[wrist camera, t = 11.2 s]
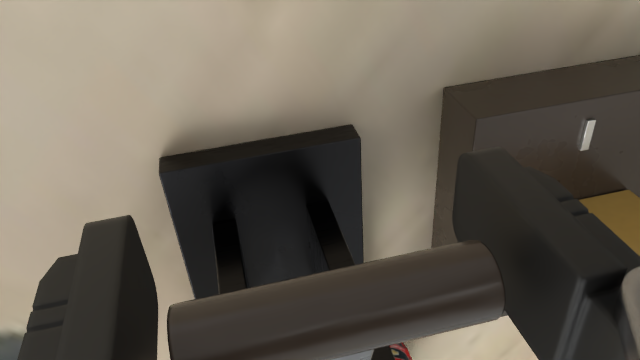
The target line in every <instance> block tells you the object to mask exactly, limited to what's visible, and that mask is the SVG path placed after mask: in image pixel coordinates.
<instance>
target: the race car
mask: <svg viewBox="0 0 640 360" xmlns="http://www.w3.org/2000/svg"><path fill="white" fill-rule="evenodd" d="M390 348H391V350H392V353H393V355H394V358H395V360H412V358H411V356H410V355H409V352H408V350H407V348H406V346H405V345H404V344H403V343H398V344H394V345H390Z"/></svg>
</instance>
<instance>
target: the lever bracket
mask: <svg viewBox="0 0 640 360" xmlns="http://www.w3.org/2000/svg"><path fill="white" fill-rule="evenodd" d="M159 176H160V180H161V183H162V186H163V190H164V193H165V197H166V200H167V204H168V207H169V211H170V214H171V218H172V221H173V225H174V228H175V232H176V235H177V238H178V242H179V245H180V249H181V252H182V256H183V259H184V263H185V266H186V270H187V273H188V277H189V280H190V284H191V287H192V290H193V294H194V297H195V299H199V298H203V297H208V296H213V295H217V294H222V293H227V292H231V291H236V290H241V289H245V288H250V287H255V286H259V285H264V284H268V283H273V282H278V281H282V280H287V279H292V278H296V277H301V276H306V275H310V274H315V273H320V272H324V271H329V270H333V269H338V268H343V267H347V266H352V265H357V264H361V263H363V223H362V179H361V138H360V136H359V135H358V133H357V131H356V130H355V128H354V126H353V125H346V126H341V127H335V128H329V129H323V130H318V131H312V132H306V133H300V134H294V135H289V136H283V137H277V138H271V139H265V140H260V141H254V142H248V143H242V144H237V145H231V146H225V147H219V148H213V149H208V150H202V151H196V152H190V153H184V154H179V155H173V156H167V157H161V158H159ZM371 360H395V358H394V355H393V353H392V350H391V348H390V346H386V347H382V348H378V349H374V352H373V355H372V358H371Z"/></svg>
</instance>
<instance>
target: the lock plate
mask: <svg viewBox="0 0 640 360" xmlns="http://www.w3.org/2000/svg"><path fill="white" fill-rule="evenodd" d="M494 147H502V148H504V149H505V150H506V151H507V152H508V153H509V154H510V155H511V156H512V157H513V158H514V159H515V160H517V161H518V162H519V163H520V164H521V165H522V166H523V167H529V166H530V167H532V168H534V169H536V170H539V171H541V172H543V173H545V174H547V175H549V176H551V177H553V178H555V179H556V180H557V181H558V182H559V183H560V184H562V185H563V186H564V187H565V188H566V189H567V190H568V191H569V192H570V193H571V194H572V195H573V198H574V199H578V200H580V199H585V198H590V197H595V196H599V195H604V194H609V193H614V192H619V191H623V190H630V191H632V192H633V193H634V194H635V195H637V196H638V197H639V198H640V55H638V56H632V57H626V58H620V59H614V60H608V61H602V62H596V63H590V64H584V65H578V66H572V67H566V68H560V69H554V70H548V71H542V72H536V73H530V74H524V75H518V76H512V77H506V78H500V79H494V80H488V81H482V82H476V83H470V84H464V85H458V86H452V87H446V88H444V91H443V104H442V117H441V130H440V143H439V156H438V169H437V183H436V196H435V209H434V222H433V235H432V248H435V247H440V246H445V245H449V244H454V243H458V241H457V238H456V236H455V233H454V229H453V222H452V212H453V202H454V192H455V182H456V172H457V164H458V159H459V157H460V155H461V154H463V153H467V152H473V151H478V150H483V149H488V148H494ZM507 315H508V314H507V313H506V311H505V310H504V312H503V314H502V316H507ZM502 316H501V317H502Z"/></svg>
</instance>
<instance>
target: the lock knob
mask: <svg viewBox="0 0 640 360" xmlns="http://www.w3.org/2000/svg"><path fill="white" fill-rule="evenodd" d="M579 201H580V202H581V203H582V204H583V205H584V206H586V207H587V208H588V211H589V213H593V214H594V215H595V216H596V217H598V218H599V219H600V220H601V221H602V222H603V223H604V224H605V225H606V226H607V227H608V228H609V229H611V230H612V231H613V232H614V233H615V234H616V235H617V236H618V237H619V238H620V239H621V240H623V241H624V242H625V243H626V244H627V245H628V246H629V247H630V248H631V249H632V250H633V251H635V252H636V253H637V254H638V255H639V256H640V198H639V197H638V196H637V195H635V194H634V193H633V192H632V191H630V190H623V191H619V192H614V193H609V194H604V195H599V196H595V197H590V198H585V199H580V200H579Z"/></svg>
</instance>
